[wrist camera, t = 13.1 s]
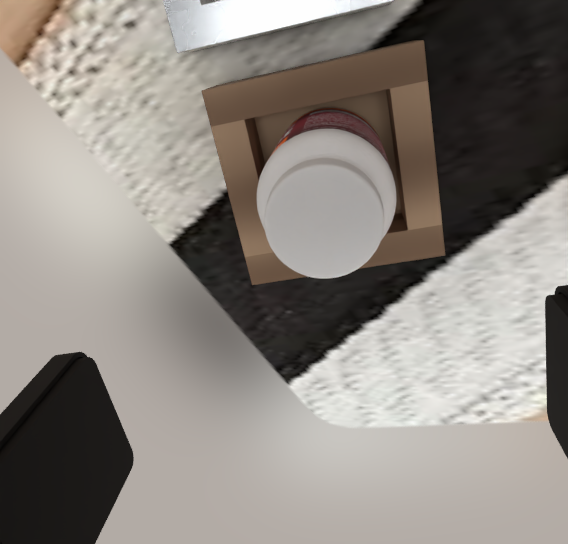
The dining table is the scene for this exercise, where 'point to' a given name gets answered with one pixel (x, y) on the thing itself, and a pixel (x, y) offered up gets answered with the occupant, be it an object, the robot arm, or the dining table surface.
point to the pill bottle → (326, 194)
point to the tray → (341, 94)
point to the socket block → (249, 18)
